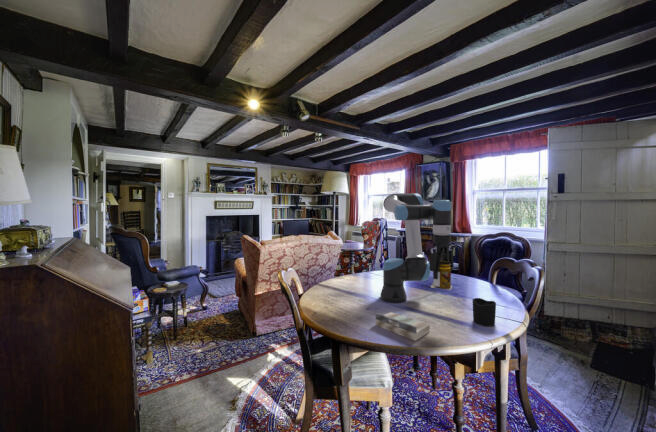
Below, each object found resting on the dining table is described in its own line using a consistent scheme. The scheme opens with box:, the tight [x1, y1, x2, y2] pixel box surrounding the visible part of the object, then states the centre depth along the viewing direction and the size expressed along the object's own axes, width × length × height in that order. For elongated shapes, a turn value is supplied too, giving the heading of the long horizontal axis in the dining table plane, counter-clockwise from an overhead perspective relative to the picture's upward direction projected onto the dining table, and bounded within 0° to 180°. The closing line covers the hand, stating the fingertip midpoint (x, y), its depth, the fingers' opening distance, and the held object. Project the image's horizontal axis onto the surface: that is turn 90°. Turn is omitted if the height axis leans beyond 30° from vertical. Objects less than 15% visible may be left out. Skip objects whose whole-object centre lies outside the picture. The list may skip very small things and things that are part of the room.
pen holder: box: [472, 297, 497, 327], centre depth 124 cm, size 9×9×10 cm
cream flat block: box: [375, 311, 431, 342], centre depth 119 cm, size 20×12×6 cm, turn 42°
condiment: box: [430, 259, 453, 291], centre depth 121 cm, size 7×8×12 cm
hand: (441, 284), depth 122 cm, fingers closed on condiment, 6 cm apart
